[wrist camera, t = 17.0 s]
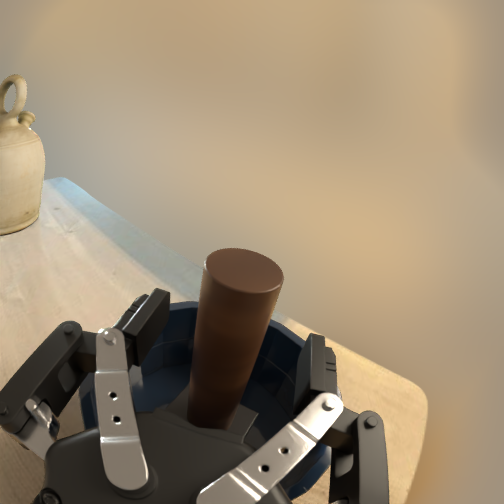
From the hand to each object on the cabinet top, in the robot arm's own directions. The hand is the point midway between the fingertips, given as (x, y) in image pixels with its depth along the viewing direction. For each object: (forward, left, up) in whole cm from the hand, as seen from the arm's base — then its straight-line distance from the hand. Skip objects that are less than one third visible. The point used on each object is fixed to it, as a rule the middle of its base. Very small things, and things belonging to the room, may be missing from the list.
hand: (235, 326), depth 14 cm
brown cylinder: (-1, +2, -9) cm, 9 cm away
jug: (+46, -3, -10) cm, 47 cm away
